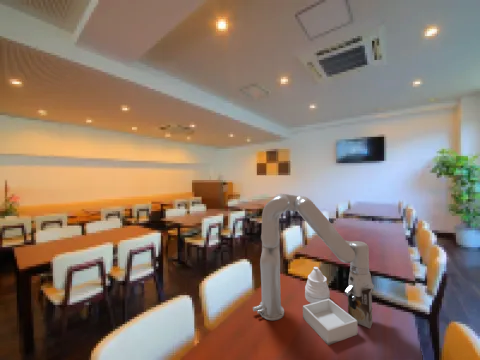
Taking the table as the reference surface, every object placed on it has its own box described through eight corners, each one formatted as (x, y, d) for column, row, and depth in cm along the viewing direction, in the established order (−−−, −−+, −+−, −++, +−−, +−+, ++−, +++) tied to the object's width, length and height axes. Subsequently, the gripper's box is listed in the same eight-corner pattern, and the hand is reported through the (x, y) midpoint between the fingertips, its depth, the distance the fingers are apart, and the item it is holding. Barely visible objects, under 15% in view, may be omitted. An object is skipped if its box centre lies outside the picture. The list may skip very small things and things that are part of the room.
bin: (328, 345, 81) (328, 330, 81) (303, 318, 97) (302, 305, 97) (357, 334, 86) (357, 320, 86) (329, 310, 102) (328, 298, 102)
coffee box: (373, 321, 94) (372, 287, 93) (370, 329, 89) (369, 293, 89) (351, 312, 100) (350, 280, 100) (347, 319, 95) (346, 286, 95)
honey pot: (328, 308, 103) (327, 274, 103) (302, 301, 110) (301, 268, 110) (331, 295, 114) (330, 264, 114) (308, 289, 121) (307, 259, 121)
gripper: (352, 276, 88) (352, 315, 88) (380, 268, 93) (381, 305, 93) (338, 268, 95) (339, 304, 95) (366, 262, 100) (366, 296, 101)
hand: (360, 305), depth 94 cm, fingers closed on coffee box, 8 cm apart
